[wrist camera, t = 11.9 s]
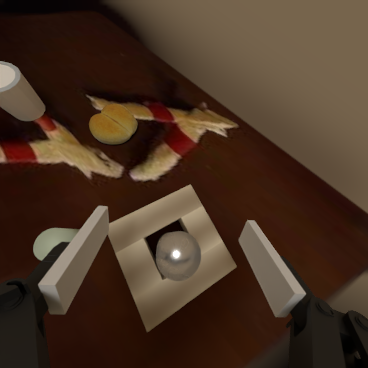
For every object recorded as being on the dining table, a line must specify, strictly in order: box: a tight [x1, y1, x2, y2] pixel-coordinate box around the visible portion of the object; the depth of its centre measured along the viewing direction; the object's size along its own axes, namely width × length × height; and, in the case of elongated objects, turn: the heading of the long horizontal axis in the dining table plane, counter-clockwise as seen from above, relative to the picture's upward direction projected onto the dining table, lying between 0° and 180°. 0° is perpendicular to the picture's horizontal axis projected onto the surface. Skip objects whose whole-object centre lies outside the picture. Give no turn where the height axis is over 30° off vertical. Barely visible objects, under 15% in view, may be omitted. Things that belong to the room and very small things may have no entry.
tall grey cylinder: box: [156, 231, 201, 281], centre depth 20 cm, size 4×4×16 cm
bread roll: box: [89, 104, 138, 144], centre depth 31 cm, size 8×9×4 cm
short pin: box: [33, 228, 80, 260], centre depth 21 cm, size 4×4×8 cm
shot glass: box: [0, 61, 45, 121], centre depth 28 cm, size 7×7×7 cm
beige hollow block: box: [108, 184, 237, 332], centre depth 23 cm, size 12×12×9 cm
